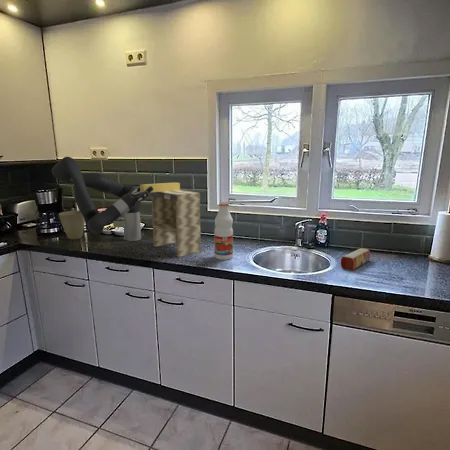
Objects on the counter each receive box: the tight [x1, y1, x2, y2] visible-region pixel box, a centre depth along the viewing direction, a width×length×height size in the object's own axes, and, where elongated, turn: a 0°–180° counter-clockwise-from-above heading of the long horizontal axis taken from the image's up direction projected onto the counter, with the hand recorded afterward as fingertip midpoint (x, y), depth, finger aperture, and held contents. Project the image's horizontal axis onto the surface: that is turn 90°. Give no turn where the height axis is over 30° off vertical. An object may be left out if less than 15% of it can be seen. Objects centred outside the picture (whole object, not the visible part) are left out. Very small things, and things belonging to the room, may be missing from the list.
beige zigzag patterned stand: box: [149, 189, 202, 257], centre depth 173 cm, size 15×26×32 cm, turn 42°
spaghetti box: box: [139, 182, 181, 194], centre depth 170 cm, size 22×4×4 cm, turn 132°
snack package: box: [340, 248, 371, 271], centre depth 153 cm, size 21×7×7 cm, turn 136°
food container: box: [112, 216, 125, 228], centre depth 211 cm, size 12×6×10 cm, turn 84°
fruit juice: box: [213, 202, 234, 261], centre depth 160 cm, size 9×9×28 cm
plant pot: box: [58, 210, 86, 240], centre depth 196 cm, size 15×15×16 cm
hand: (148, 187), depth 165 cm, fingers open, 8 cm apart
